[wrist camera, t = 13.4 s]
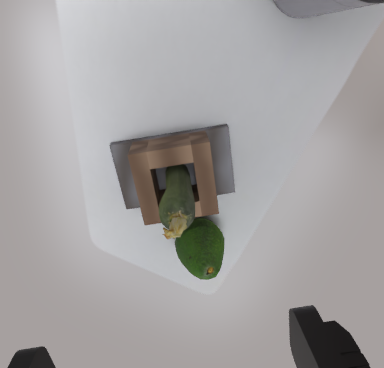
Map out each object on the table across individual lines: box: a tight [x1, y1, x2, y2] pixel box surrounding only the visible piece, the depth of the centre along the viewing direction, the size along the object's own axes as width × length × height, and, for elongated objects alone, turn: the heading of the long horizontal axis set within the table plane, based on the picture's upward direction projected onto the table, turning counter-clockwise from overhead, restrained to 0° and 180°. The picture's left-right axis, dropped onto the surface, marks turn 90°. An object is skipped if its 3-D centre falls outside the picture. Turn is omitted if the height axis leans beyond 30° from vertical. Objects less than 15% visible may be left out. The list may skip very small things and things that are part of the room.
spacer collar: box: [110, 124, 235, 225], centre depth 47 cm, size 18×11×8 cm, turn 98°
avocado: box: [175, 218, 224, 279], centre depth 50 cm, size 8×8×12 cm
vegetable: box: [159, 164, 195, 239], centre depth 40 cm, size 4×4×20 cm
